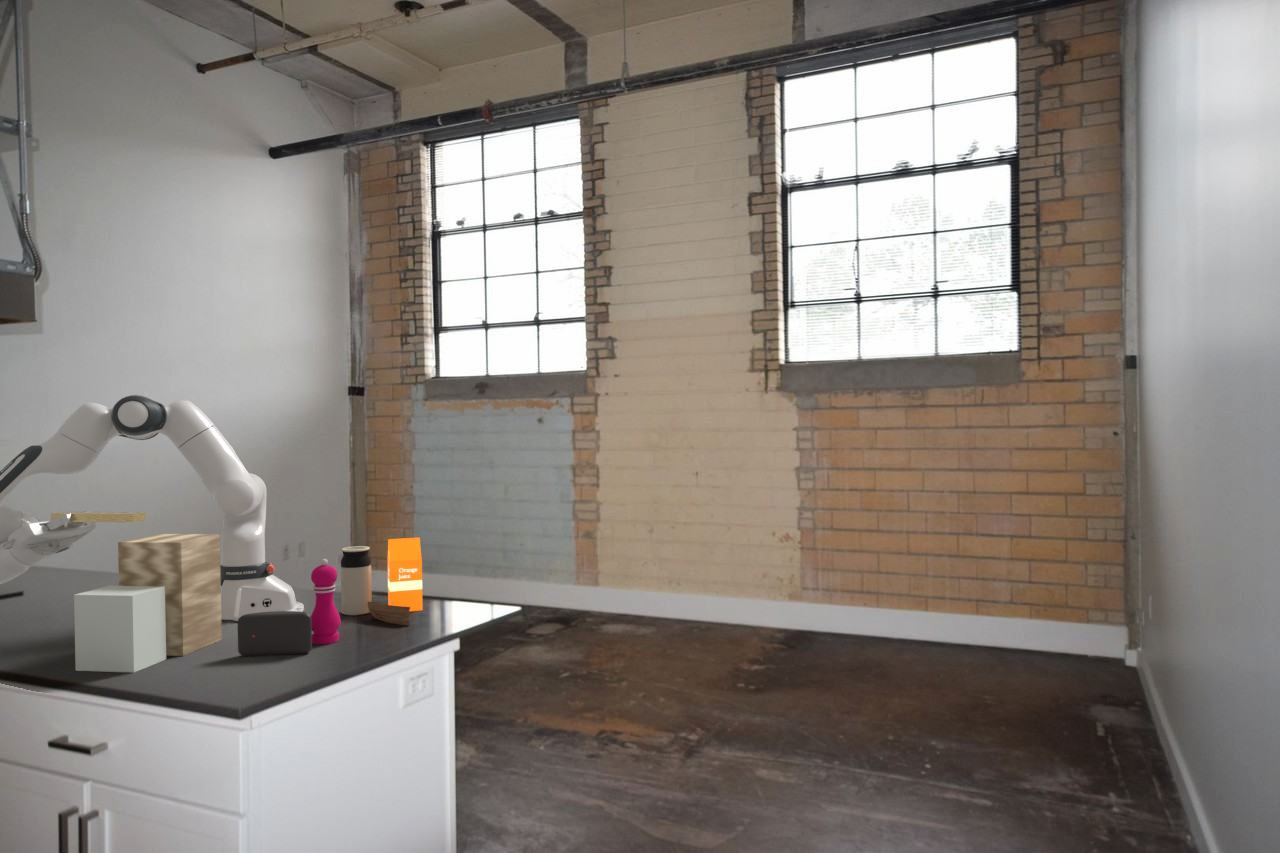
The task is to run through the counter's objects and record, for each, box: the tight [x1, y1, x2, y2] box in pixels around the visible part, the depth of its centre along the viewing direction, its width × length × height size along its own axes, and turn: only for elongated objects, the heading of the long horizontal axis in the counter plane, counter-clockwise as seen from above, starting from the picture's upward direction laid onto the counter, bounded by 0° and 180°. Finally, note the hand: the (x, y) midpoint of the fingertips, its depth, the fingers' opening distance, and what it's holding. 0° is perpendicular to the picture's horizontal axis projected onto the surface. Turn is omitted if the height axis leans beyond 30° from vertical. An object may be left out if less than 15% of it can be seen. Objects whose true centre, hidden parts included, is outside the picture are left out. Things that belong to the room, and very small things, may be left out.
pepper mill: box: [310, 558, 342, 645], centre depth 207 cm, size 7×7×20 cm
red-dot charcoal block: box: [237, 611, 313, 657], centre depth 197 cm, size 16×5×9 cm, turn 96°
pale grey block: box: [73, 585, 167, 673], centre depth 189 cm, size 14×10×16 cm
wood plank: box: [368, 601, 411, 627], centre depth 225 cm, size 15×2×5 cm, turn 58°
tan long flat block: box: [50, 511, 146, 523], centre depth 206 cm, size 22×4×2 cm, turn 82°
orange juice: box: [387, 537, 423, 612], centre depth 241 cm, size 8×9×20 cm
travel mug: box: [340, 545, 373, 616], centre depth 237 cm, size 8×8×18 cm
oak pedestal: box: [117, 533, 223, 657], centre depth 203 cm, size 16×14×26 cm
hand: (78, 515), depth 207 cm, fingers closed on tan long flat block, 4 cm apart
